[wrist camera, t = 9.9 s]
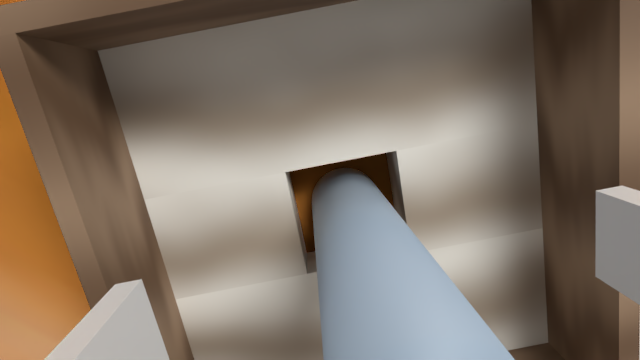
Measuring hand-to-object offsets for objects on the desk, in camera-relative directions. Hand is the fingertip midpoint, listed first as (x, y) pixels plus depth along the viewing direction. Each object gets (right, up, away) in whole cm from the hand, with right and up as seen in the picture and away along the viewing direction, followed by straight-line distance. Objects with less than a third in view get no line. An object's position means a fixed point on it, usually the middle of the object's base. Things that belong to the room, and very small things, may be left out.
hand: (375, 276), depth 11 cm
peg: (0, +2, +9) cm, 10 cm away
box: (0, +2, +9) cm, 9 cm away
